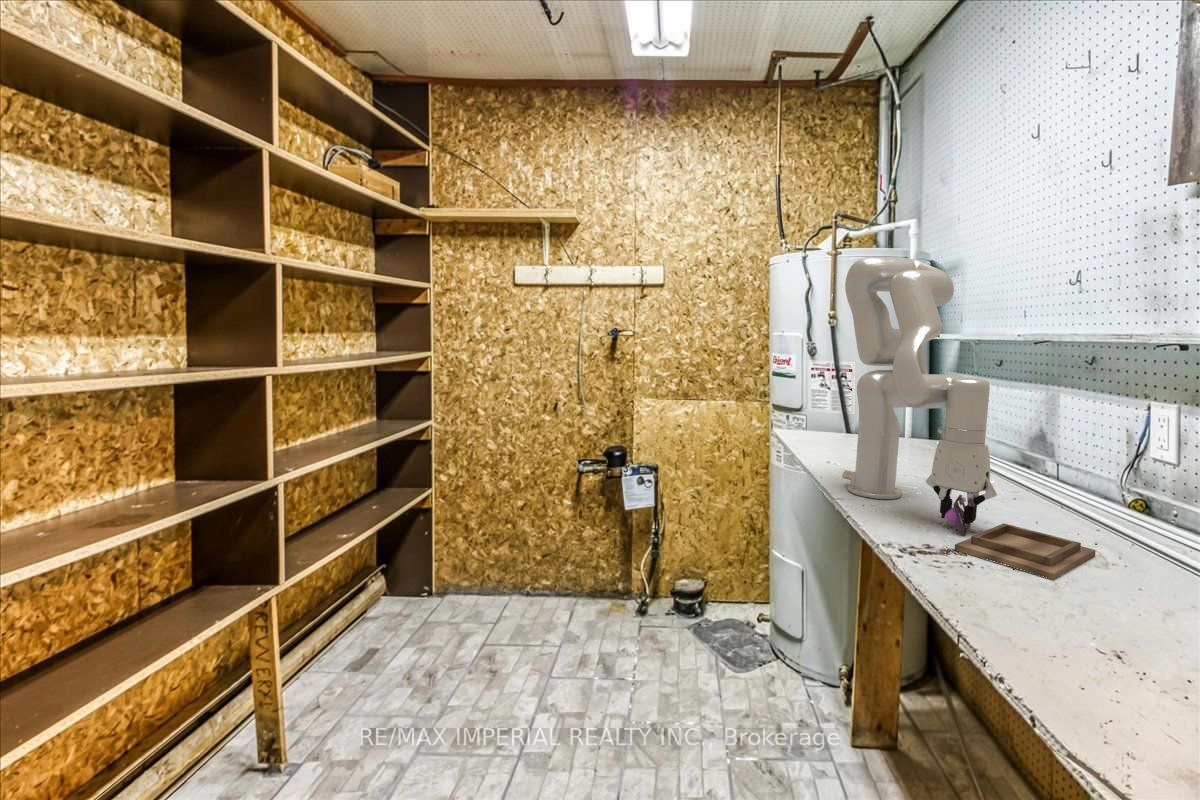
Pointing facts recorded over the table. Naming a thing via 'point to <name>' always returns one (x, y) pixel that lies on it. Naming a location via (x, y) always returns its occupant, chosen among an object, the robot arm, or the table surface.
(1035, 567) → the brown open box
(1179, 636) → the table surface
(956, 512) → the purple figure with panel
